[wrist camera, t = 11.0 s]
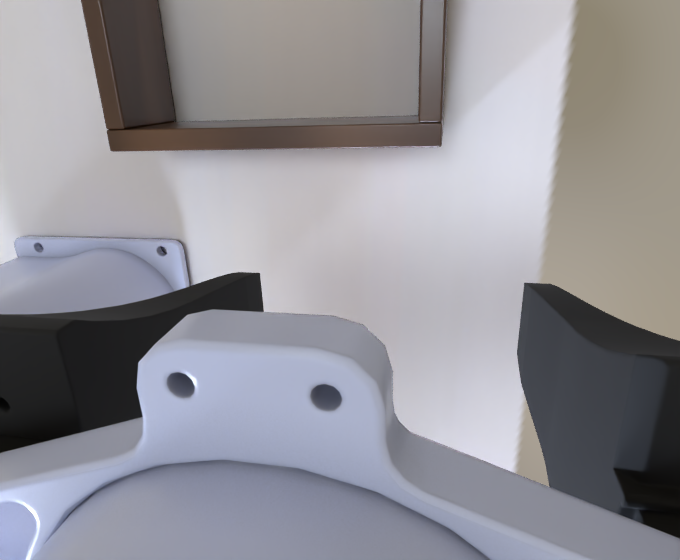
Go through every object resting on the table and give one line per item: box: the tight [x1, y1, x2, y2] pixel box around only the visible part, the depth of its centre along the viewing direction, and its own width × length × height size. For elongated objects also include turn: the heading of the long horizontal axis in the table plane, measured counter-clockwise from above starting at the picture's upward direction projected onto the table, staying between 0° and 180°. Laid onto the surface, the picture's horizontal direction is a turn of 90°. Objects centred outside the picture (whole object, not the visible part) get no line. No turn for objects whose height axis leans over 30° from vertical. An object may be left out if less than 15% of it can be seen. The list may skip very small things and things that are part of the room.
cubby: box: [81, 0, 447, 151], centre depth 18 cm, size 13×10×4 cm
